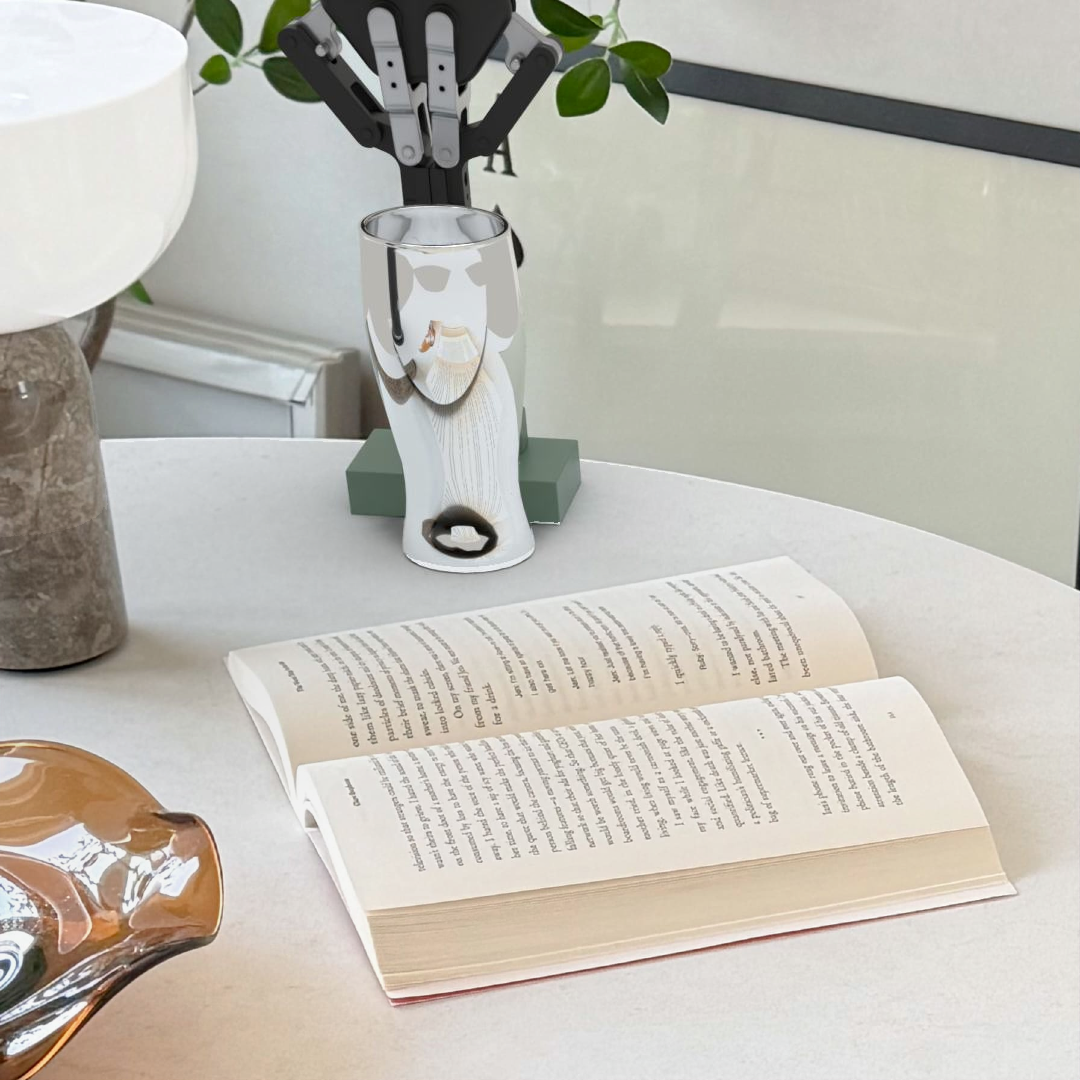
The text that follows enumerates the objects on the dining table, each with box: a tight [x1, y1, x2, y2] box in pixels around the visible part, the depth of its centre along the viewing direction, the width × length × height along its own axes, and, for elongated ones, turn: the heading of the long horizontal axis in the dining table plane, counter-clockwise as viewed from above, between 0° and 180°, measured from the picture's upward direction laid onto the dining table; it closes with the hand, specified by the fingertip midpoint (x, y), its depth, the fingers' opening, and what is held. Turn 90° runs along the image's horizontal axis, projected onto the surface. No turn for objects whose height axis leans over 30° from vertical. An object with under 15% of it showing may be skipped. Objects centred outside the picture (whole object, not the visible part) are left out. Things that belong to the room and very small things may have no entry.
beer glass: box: [357, 204, 536, 567], centre depth 128 cm, size 7×7×15 cm
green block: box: [344, 406, 582, 523], centre depth 136 cm, size 10×7×4 cm
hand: (442, 243), depth 131 cm, fingers closed
